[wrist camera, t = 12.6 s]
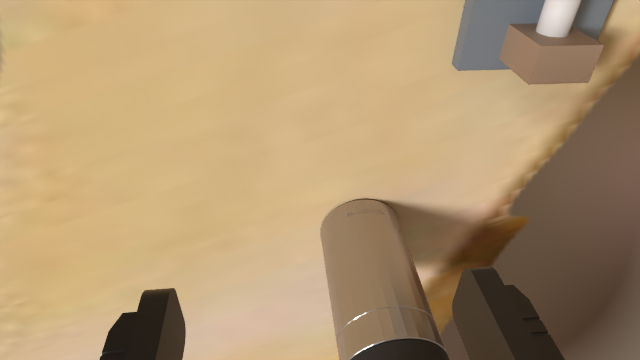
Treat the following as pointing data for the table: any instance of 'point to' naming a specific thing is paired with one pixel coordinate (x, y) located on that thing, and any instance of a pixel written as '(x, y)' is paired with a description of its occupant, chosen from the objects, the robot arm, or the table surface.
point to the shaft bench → (495, 22)
